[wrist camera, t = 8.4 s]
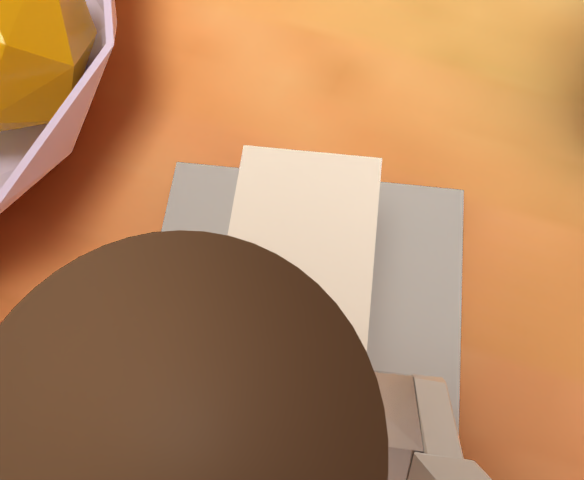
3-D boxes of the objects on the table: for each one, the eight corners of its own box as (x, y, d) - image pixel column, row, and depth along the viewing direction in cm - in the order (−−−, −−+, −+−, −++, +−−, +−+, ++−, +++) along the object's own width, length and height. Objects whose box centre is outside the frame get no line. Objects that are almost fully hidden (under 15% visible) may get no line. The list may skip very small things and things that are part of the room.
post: (209, 471, 14) (-131, 672, 3) (228, 353, 15) (19, 211, 4) (325, 488, 13) (370, 768, 3) (337, 366, 14) (401, 252, 4)
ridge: (66, 695, 19) (-68, 851, 12) (181, 170, 26) (136, 88, 19) (444, 766, 18) (522, 979, 11) (458, 198, 25) (511, 120, 18)
